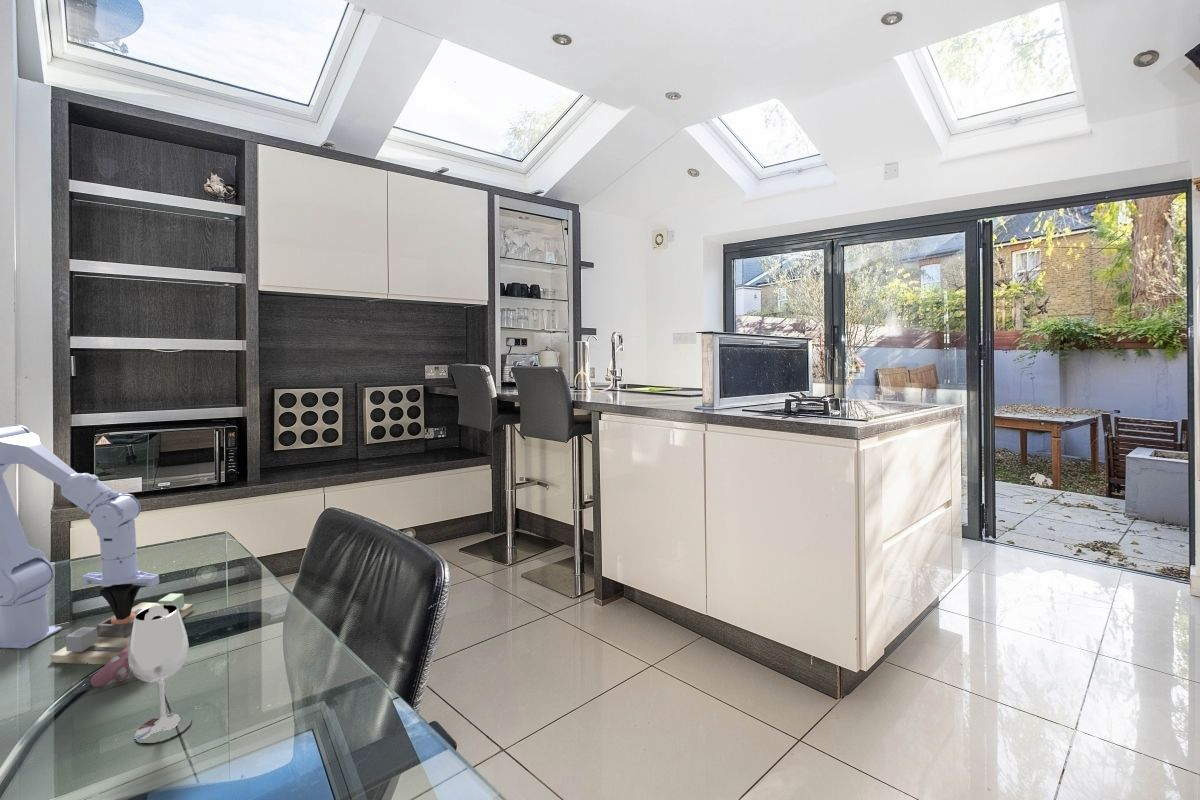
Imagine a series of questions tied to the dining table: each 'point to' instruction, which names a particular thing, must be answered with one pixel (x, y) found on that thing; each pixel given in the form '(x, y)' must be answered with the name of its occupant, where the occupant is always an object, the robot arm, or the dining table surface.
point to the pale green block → (173, 600)
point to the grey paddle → (81, 639)
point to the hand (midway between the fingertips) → (123, 617)
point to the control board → (108, 640)
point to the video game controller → (112, 670)
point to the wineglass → (158, 657)
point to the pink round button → (124, 621)
